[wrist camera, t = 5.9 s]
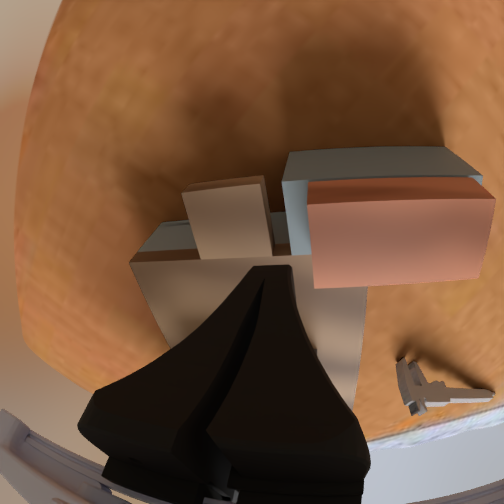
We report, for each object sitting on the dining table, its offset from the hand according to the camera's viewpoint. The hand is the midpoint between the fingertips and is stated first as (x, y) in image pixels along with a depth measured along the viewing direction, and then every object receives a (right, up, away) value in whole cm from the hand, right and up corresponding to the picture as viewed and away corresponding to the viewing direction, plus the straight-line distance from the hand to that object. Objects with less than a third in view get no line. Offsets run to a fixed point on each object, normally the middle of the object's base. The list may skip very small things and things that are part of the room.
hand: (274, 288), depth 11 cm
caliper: (+23, -13, +17) cm, 31 cm away
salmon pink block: (+6, +3, +3) cm, 7 cm away
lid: (0, -4, +11) cm, 12 cm away
